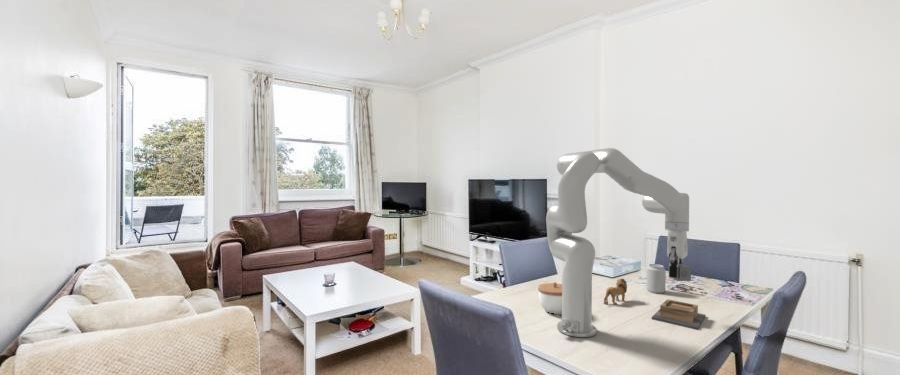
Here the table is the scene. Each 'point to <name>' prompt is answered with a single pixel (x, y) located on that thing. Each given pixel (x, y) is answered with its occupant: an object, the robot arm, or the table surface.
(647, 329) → the table surface
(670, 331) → the table surface
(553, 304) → the lidded bowl
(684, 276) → the grey cube
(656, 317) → the base
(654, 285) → the can
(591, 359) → the table surface
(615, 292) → the lion figurine
